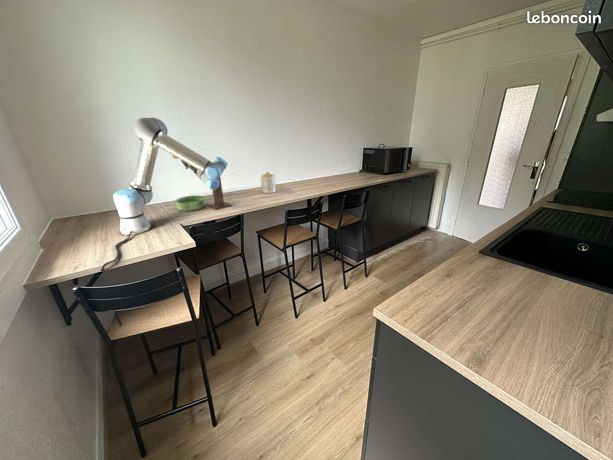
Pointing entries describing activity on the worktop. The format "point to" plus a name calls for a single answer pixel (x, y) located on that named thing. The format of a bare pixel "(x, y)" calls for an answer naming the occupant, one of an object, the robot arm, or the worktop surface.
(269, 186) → the jar
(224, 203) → the stand
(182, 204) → the bowl
